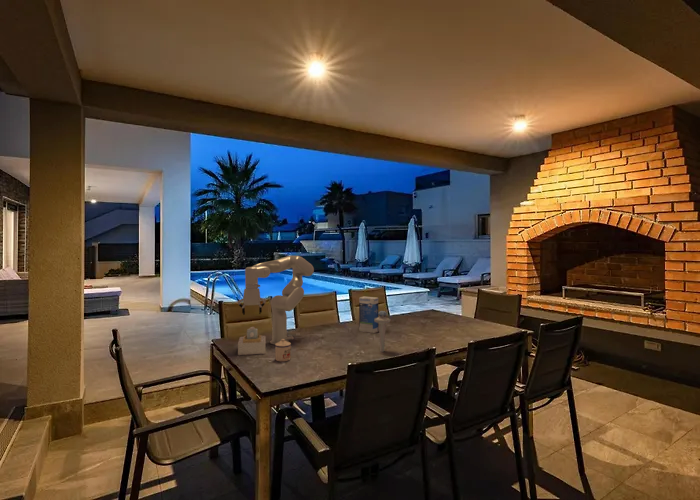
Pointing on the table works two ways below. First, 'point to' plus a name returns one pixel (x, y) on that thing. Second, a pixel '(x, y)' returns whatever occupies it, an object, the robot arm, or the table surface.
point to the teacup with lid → (283, 350)
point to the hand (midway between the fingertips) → (252, 314)
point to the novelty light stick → (382, 328)
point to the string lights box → (368, 314)
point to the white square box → (252, 345)
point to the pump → (252, 333)
